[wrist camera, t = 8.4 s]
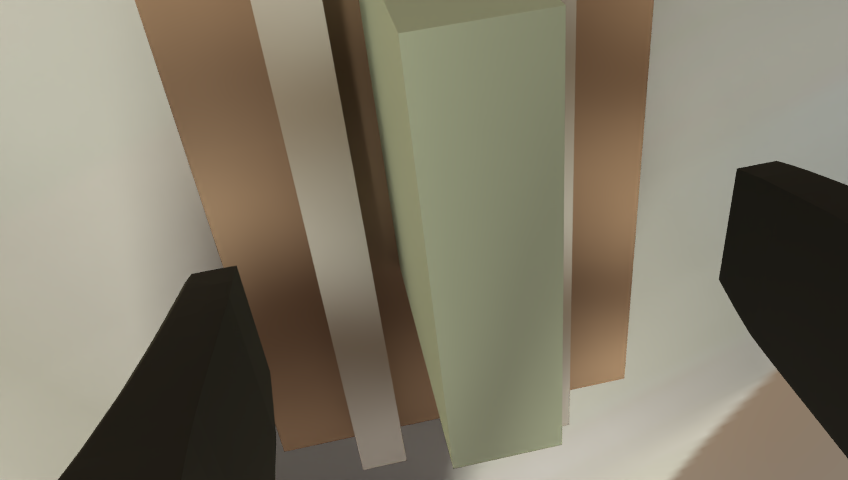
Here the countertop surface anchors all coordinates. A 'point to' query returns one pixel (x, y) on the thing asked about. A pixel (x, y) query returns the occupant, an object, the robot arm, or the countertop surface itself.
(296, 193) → the track board
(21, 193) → the countertop surface
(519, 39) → the pale green rectangular block
